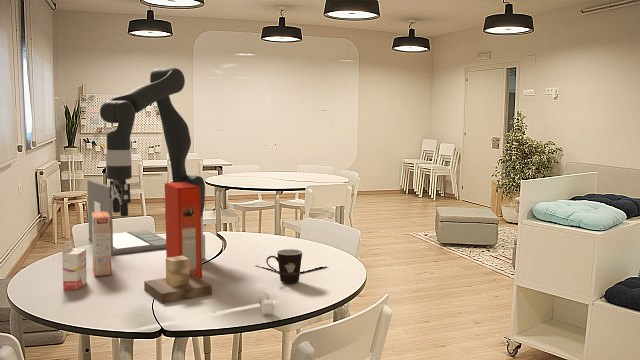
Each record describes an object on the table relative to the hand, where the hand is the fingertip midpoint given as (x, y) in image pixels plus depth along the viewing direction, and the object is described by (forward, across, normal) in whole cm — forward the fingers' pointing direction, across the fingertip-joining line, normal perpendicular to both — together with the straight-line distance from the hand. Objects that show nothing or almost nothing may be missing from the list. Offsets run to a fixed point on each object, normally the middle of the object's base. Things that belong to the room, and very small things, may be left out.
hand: (120, 214), depth 178 cm
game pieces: (+25, -42, -29) cm, 57 cm away
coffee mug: (+24, -22, -49) cm, 59 cm away
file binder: (+24, +5, -23) cm, 34 cm away
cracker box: (+24, +24, 0) cm, 34 cm away
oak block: (+21, -15, -13) cm, 29 cm away
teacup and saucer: (+25, -6, -62) cm, 67 cm away
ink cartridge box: (+24, +10, +12) cm, 29 cm away
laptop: (+25, +63, -22) cm, 71 cm away
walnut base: (+24, -15, -13) cm, 31 cm away
